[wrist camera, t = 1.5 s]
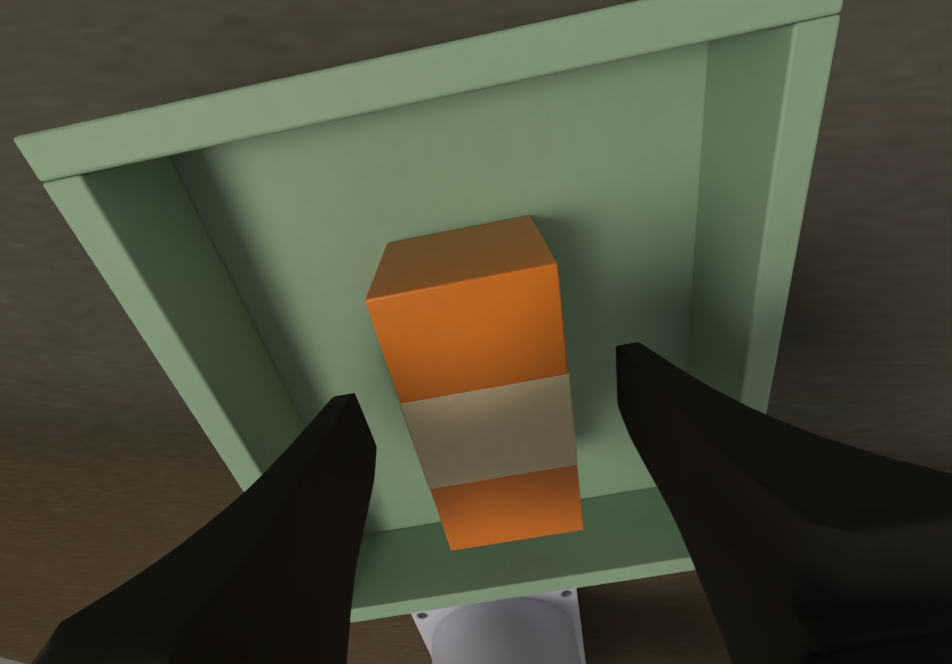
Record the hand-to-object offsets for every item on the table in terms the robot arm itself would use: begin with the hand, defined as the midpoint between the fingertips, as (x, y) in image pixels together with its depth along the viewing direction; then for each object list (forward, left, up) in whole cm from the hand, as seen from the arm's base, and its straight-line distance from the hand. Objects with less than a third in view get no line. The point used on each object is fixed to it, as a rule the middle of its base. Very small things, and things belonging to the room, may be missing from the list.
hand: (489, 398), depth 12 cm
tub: (0, 0, -3) cm, 3 cm away
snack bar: (0, 0, -2) cm, 2 cm away
